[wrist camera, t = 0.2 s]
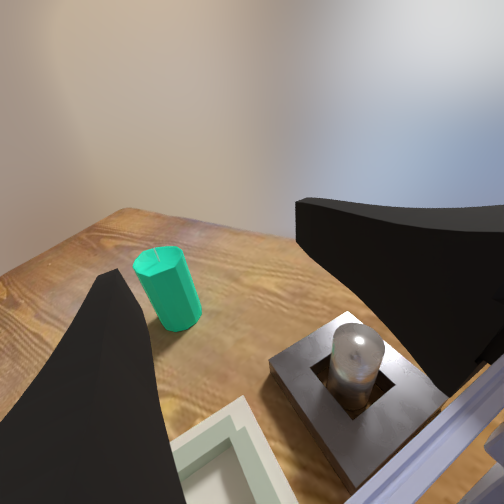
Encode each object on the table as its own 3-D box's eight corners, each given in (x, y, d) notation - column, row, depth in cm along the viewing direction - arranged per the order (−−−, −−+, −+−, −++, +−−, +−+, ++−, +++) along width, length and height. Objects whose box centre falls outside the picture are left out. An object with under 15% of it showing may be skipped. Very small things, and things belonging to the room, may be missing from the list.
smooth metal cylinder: (378, 394, 24) (396, 347, 19) (348, 419, 23) (361, 374, 18) (346, 362, 27) (356, 315, 22) (319, 382, 26) (323, 336, 21)
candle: (152, 321, 35) (117, 255, 28) (183, 295, 39) (157, 231, 32) (181, 338, 32) (148, 269, 25) (210, 308, 36) (189, 240, 29)
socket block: (441, 408, 22) (450, 395, 21) (351, 496, 18) (356, 488, 17) (345, 324, 31) (347, 311, 30) (270, 372, 27) (268, 359, 26)
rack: (326, 558, 16) (328, 555, 15) (164, 728, 12) (146, 746, 11) (243, 397, 25) (240, 385, 24) (135, 467, 21) (123, 458, 20)
